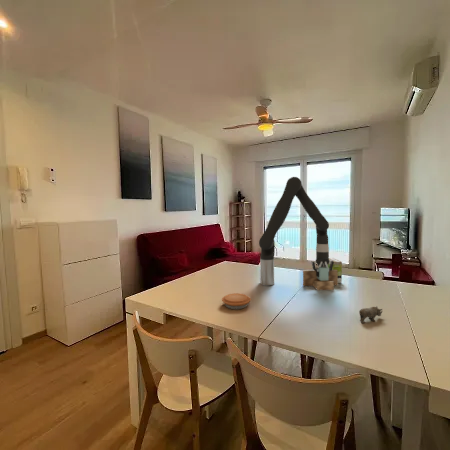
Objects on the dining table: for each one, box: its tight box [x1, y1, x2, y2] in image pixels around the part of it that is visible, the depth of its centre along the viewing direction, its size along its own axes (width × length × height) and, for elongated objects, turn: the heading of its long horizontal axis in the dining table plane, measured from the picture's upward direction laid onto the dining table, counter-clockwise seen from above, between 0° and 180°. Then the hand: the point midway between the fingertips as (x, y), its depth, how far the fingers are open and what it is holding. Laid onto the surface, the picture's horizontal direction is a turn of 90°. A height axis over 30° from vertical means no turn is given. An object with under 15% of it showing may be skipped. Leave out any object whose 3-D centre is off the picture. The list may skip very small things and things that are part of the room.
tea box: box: [327, 257, 343, 284], centre depth 177 cm, size 15×10×15 cm, turn 179°
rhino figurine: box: [359, 305, 383, 324], centre depth 114 cm, size 4×14×6 cm, turn 110°
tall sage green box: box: [317, 263, 328, 281], centre depth 161 cm, size 5×6×10 cm
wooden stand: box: [302, 269, 339, 291], centre depth 162 cm, size 22×10×10 cm, turn 88°
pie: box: [221, 292, 252, 310], centre depth 135 cm, size 15×16×5 cm
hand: (322, 276), depth 161 cm, fingers closed on tall sage green box, 5 cm apart
